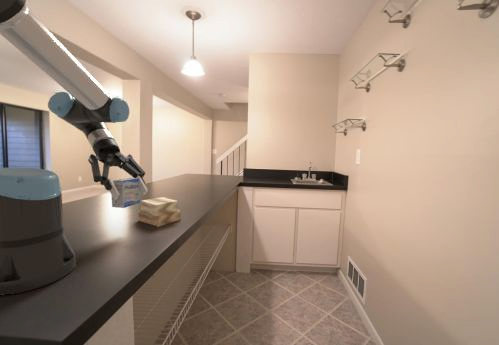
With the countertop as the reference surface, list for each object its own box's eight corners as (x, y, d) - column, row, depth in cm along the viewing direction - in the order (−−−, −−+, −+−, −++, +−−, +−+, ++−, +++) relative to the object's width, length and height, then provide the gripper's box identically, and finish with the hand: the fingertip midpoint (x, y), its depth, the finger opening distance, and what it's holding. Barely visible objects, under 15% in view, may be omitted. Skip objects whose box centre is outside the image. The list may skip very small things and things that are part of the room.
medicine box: (123, 208, 72) (122, 180, 72) (111, 207, 73) (110, 180, 72) (140, 203, 80) (139, 178, 79) (129, 202, 81) (128, 177, 80)
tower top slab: (156, 216, 83) (155, 205, 82) (141, 210, 90) (141, 200, 89) (178, 211, 90) (177, 200, 89) (162, 206, 97) (162, 196, 96)
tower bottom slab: (158, 227, 83) (157, 216, 82) (138, 221, 89) (138, 211, 89) (180, 220, 91) (180, 210, 91) (161, 215, 97) (161, 206, 97)
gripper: (129, 153, 92) (156, 196, 85) (64, 152, 74) (91, 208, 67) (137, 139, 89) (165, 183, 82) (71, 135, 71) (99, 191, 64)
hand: (131, 194), depth 74 cm, fingers closed on medicine box, 9 cm apart
